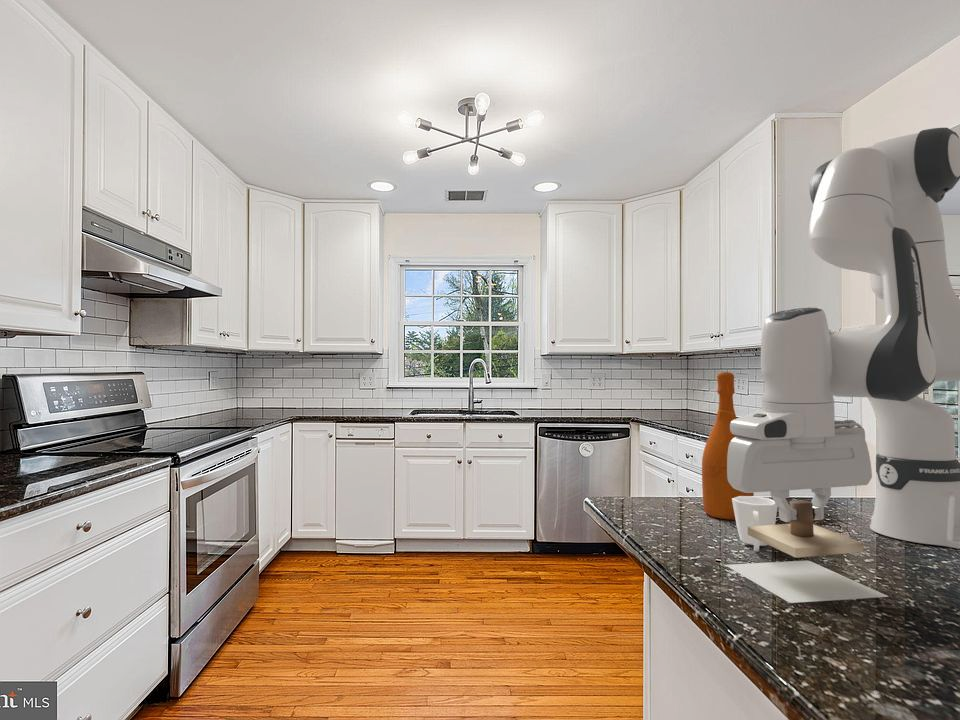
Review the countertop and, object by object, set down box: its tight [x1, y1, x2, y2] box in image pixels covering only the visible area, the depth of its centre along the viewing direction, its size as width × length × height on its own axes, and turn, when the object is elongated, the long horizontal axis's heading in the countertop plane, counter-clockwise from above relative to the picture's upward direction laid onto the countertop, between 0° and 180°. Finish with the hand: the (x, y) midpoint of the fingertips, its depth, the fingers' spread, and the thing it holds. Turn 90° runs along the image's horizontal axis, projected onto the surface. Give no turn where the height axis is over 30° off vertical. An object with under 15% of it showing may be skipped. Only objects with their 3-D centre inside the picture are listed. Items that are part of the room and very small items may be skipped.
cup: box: [732, 496, 779, 553], centre depth 90 cm, size 7×10×8 cm
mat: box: [724, 559, 889, 604], centre depth 76 cm, size 14×14×1 cm
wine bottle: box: [701, 371, 755, 521], centre depth 114 cm, size 10×10×30 cm
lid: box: [747, 499, 865, 558], centre depth 77 cm, size 10×10×6 cm
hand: (801, 519), depth 77 cm, fingers closed on lid, 3 cm apart
